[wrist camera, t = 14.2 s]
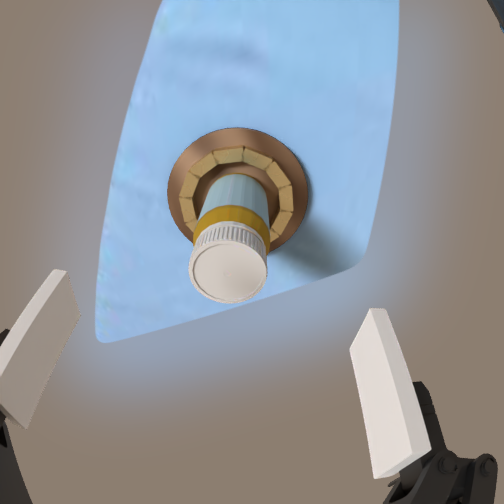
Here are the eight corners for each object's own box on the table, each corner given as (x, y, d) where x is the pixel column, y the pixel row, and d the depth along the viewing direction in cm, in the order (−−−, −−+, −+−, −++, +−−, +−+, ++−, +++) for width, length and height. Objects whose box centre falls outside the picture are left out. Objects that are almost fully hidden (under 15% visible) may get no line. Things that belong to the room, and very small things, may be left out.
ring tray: (251, 98, 31) (251, 100, 29) (331, 210, 38) (335, 219, 36) (142, 184, 37) (136, 192, 34) (226, 274, 44) (225, 285, 42)
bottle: (271, 219, 38) (278, 301, 25) (216, 228, 39) (197, 312, 26) (260, 165, 34) (264, 227, 22) (201, 177, 35) (170, 243, 22)
